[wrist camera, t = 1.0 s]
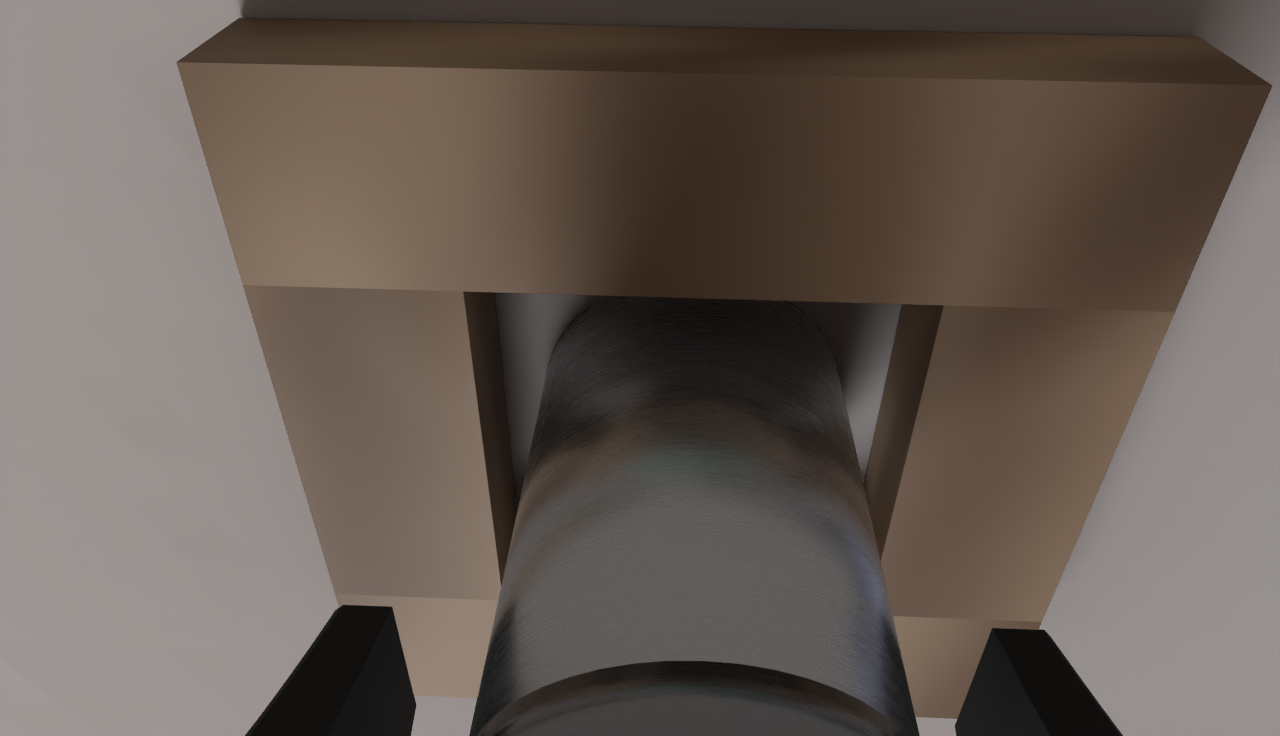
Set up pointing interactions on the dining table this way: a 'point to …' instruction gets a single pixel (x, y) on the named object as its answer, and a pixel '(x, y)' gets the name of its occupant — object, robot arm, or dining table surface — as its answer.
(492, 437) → the collar
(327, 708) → the robot arm
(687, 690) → the metal cylinder
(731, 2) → the dining table surface
